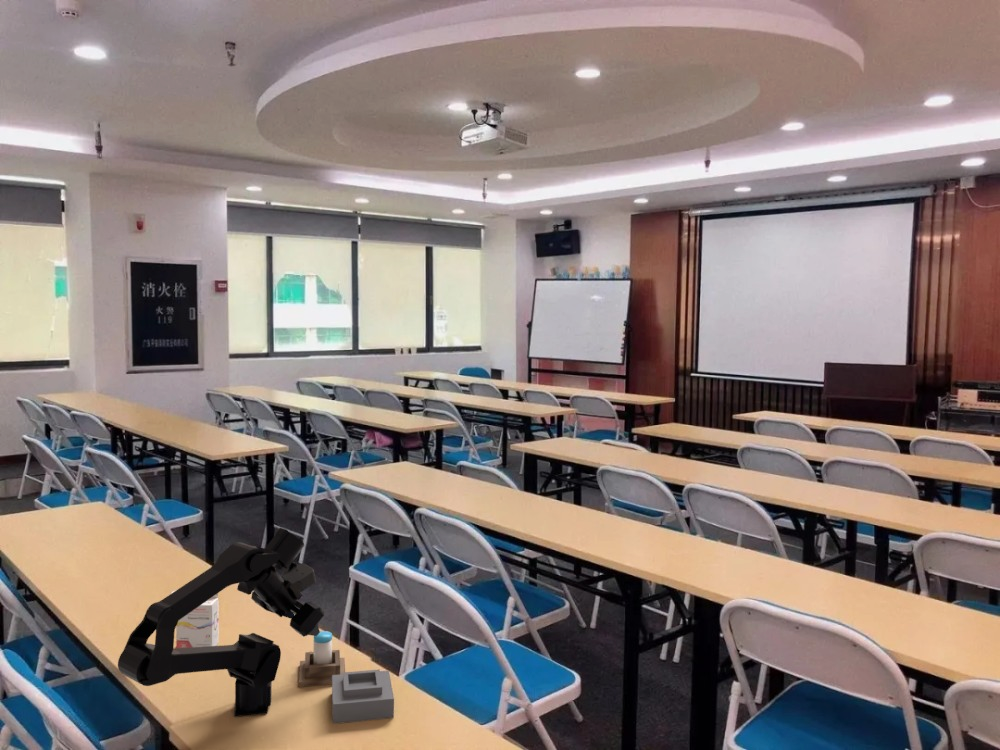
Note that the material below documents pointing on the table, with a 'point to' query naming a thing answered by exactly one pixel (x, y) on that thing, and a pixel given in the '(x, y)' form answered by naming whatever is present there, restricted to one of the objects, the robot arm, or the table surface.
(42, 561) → the table surface
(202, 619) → the ink cartridge box
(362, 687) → the upper dock
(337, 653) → the low dock
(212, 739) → the table surface
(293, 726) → the table surface
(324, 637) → the plug
